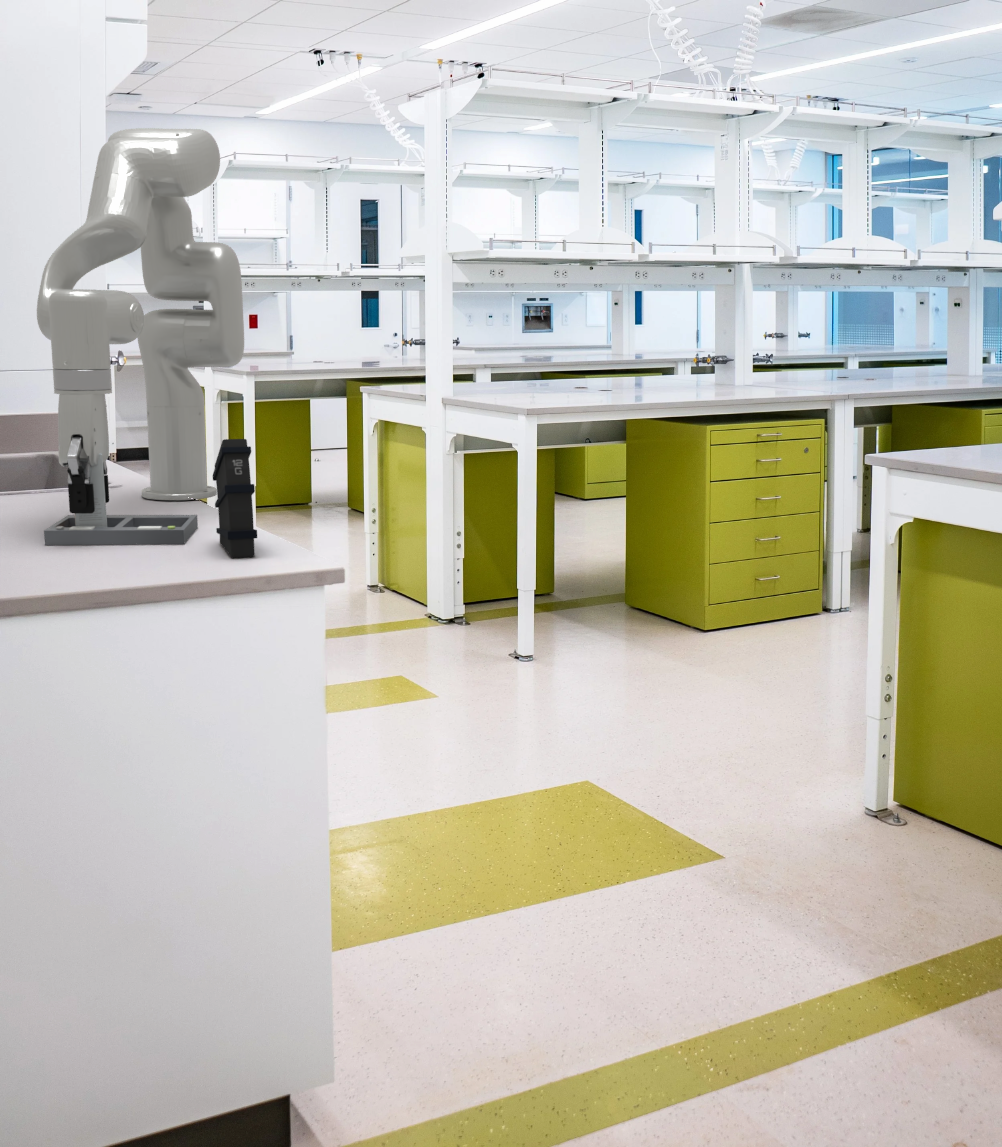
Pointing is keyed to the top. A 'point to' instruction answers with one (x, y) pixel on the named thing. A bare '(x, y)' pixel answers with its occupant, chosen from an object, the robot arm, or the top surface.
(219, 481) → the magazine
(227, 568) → the top surface
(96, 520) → the skincare box
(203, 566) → the top surface
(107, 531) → the socket panel
